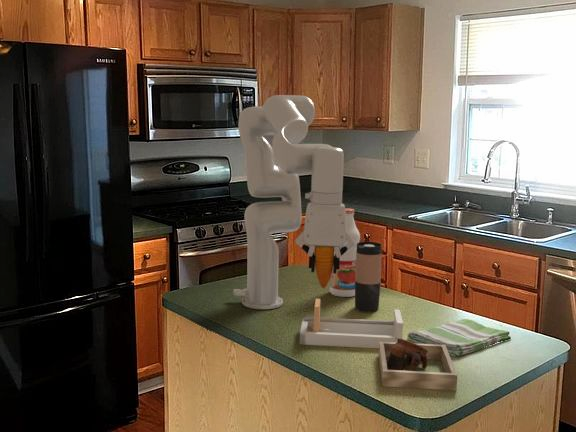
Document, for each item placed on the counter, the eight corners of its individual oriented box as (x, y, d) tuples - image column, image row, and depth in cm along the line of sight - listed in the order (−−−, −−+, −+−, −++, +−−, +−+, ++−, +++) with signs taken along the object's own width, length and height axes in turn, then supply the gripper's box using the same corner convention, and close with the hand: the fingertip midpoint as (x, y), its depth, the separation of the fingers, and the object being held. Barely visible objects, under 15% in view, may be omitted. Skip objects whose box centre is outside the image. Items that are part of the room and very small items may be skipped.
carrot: (335, 286, 160) (337, 227, 157) (330, 292, 156) (332, 231, 153) (316, 284, 162) (318, 226, 159) (310, 289, 157) (312, 229, 154)
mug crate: (382, 386, 141) (383, 371, 141) (378, 355, 159) (379, 341, 158) (456, 390, 140) (457, 375, 139) (444, 358, 157) (445, 344, 157)
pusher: (313, 341, 167) (314, 306, 165) (315, 332, 174) (315, 298, 172) (329, 342, 166) (330, 307, 165) (330, 332, 173) (331, 299, 172)
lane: (299, 344, 165) (300, 318, 164) (302, 329, 176) (303, 305, 175) (401, 349, 163) (403, 323, 162) (398, 334, 174) (399, 309, 172)
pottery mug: (376, 366, 153) (389, 334, 155) (409, 381, 155) (422, 350, 156) (395, 373, 142) (409, 339, 143) (432, 390, 143) (445, 355, 145)
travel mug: (378, 305, 199) (381, 242, 195) (379, 313, 191) (382, 247, 188) (354, 304, 199) (356, 241, 196) (354, 311, 192) (356, 246, 189)
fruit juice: (346, 287, 217) (349, 206, 212) (364, 295, 209) (367, 210, 204) (324, 291, 212) (326, 208, 207) (341, 299, 204) (344, 212, 200)
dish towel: (405, 339, 171) (405, 327, 171) (460, 323, 185) (461, 311, 184) (457, 360, 158) (458, 347, 157) (512, 341, 171) (513, 328, 171)
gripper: (290, 199, 152) (288, 274, 155) (362, 202, 150) (358, 277, 154) (292, 194, 159) (290, 266, 162) (361, 197, 158) (358, 269, 161)
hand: (323, 270), depth 158 cm, fingers closed on carrot, 4 cm apart
